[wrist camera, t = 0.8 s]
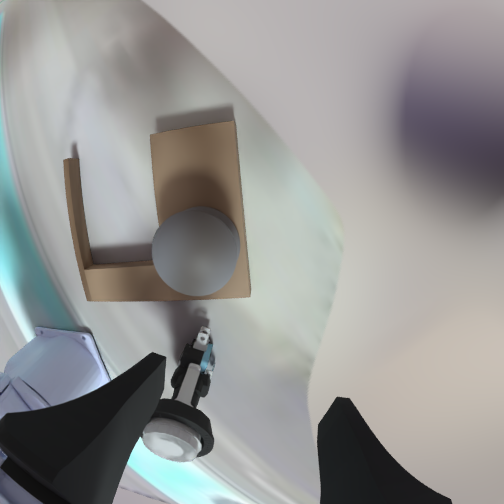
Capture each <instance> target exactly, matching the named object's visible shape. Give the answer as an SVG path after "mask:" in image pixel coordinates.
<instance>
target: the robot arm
mask: <svg viewBox="0 0 504 504" xmlns="http://www.w3.org/2000/svg"><path fill="white" fill-rule="evenodd" d="M35 333H36V335H37V336H36V337H35V338H34V339H32V340H31V341H30V342H29V343H28V344H26V345H25V346H24V347H23V348H22V349H21V350H19V351H18V352H17V353H16V354H15V355H14V356H12V357H11V358H10V359H9V361H8V362H7V364H6V366H5V370H4V373H2V372H0V504H112V503H113V499H114V496H115V494H116V490H117V488H118V485H119V482H120V479H121V477H122V474H123V472H124V469H125V466H126V464H127V462H128V459H129V457H130V454H131V452H132V450H133V448H134V446H135V444H136V442H137V441H138V439H139V437H140V436H141V434H142V432H143V430H144V429H145V427H146V425H147V423H148V422H149V420H150V418H151V416H152V415H153V413H154V411H155V409H156V407H157V405H158V403H159V400H160V398H161V395H162V393H163V390H164V382H165V367H166V357H165V356H162V355H159V354H156V353H154V352H152V353H150V354H148V355H147V356H146V357H145V358H143V359H142V360H141V361H139V362H138V363H137V364H135V365H134V366H133V367H131V368H130V369H128V370H127V371H125V372H124V373H122V374H121V375H119V376H118V377H116V378H115V379H113V380H112V381H110V379H109V376H108V374H107V372H106V370H105V367H104V365H103V363H102V360H101V358H100V355H99V353H98V350H97V348H96V345H95V343H94V340H93V337H92V335H91V334H89V333H84V332H75V331H66V330H58V329H50V328H43V327H36V328H35ZM84 337H85V338H84ZM317 448H318V459H319V470H320V482H321V497H320V504H452V501H451V499H450V498H447V497H445V496H443V495H441V494H439V493H437V492H435V491H434V490H432V489H430V488H428V487H427V486H425V485H424V484H423V483H421V482H420V481H418V480H417V479H416V478H415V477H413V476H412V475H411V474H410V473H408V472H407V471H406V470H405V469H404V468H403V467H402V466H401V465H400V464H399V463H398V462H397V461H396V460H395V459H394V458H393V457H392V456H391V455H390V454H389V453H388V452H387V451H386V449H385V448H384V447H383V445H382V444H381V443H380V441H379V440H378V439H377V438H376V436H375V435H374V433H373V432H372V431H371V429H370V428H369V426H368V425H367V423H366V422H365V421H364V419H363V418H362V416H361V415H360V413H359V411H358V410H357V408H356V407H355V406H354V404H353V403H352V401H351V400H350V398H342V397H336V399H335V400H334V402H333V403H332V405H331V407H330V408H329V410H328V411H327V413H326V414H325V415H324V417H323V419H322V420H321V421H320V423H319V424H318V436H317Z"/></svg>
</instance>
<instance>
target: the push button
mask: <svg viewBox="0 0 504 504" xmlns="http://www.w3.org/2000/svg"><path fill="white" fill-rule="evenodd" d="M210 330H211V329H210V328H207V327H204V326H202V327H201V330H200V332H199V334H198V336H197V337H196V339H194V340H193V342H192V345H190V344H186V347H185V349H184V351H183V353H182V355H181V357H180V360H179V363H178V367H177V368H176V370H175V372H174V374H173V376H172V379H171V386H172V387H173V388H174V393H173V396H172V399H165V398H164V399H160V400H159V403H158V405H157V407H156V409H155V411H154V413H153V415H152V416H151V418H150V420H149V422H148V423H147V425H146V427H145V429H144V430H143V432H142V434H141V436H140V437H141V438H142V440H143V443H144V445H145V446H146V447H147V448H148V449H149V450H150V451H151V452H153V453H154V454H156V455H158V456H160V457H162V458H165V459H167V460H171V461H176V462H188V461H192V460H194V459H195V458H196V457H201V456H204V455H206V454H208V453H210V452H211V450H212V449H213V445H214V437H213V435H212V429H211V423H210V419H209V418H208V417H207V416H206V415H205V414H204V413H203V412H202V411H200V410H198V409H196V407H197V405H198V402H199V398H200V397H205V396H206V395H207V394H208V391H209V387H210V383H211V377H212V374H213V370H214V367H215V363H214V366H213V369H212V371H210V370H206V368H207V365H208V362H209V358H210V353H211V350H212V346H213V344H209V340H208V337H209V334H210ZM203 331H206V332H207V334H205V333H202V332H203ZM205 370H206V373H205ZM204 373H205V374H204Z"/></svg>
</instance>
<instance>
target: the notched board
mask: <svg viewBox="0 0 504 504" xmlns="http://www.w3.org/2000/svg"><path fill="white" fill-rule="evenodd" d="M150 144H151V158H152V170H153V180H154V190H155V199H156V207H157V215H158V222H159V228H158V230H157V231H156V233H155V236H154V239H153V243H152V259H153V260H148V261H135V262H121V263H108V264H94V265H93V260H92V255H91V250H90V245H89V240H88V234H87V228H86V222H85V215H84V208H83V200H82V191H81V181H80V168H79V159H74V158H68V159H65V160H63V162H64V178H65V189H66V199H67V207H68V214H69V221H70V227H71V233H72V239H73V244H74V249H75V254H76V259H77V263H78V268H79V272H80V276H81V280H82V284H83V288H84V291H85V295H86V298H87V301H180V300H207V299H228V298H245V297H250V294H251V284H250V273H249V263H248V252H247V241H246V231H245V220H244V209H243V198H242V187H241V176H240V165H239V154H238V143H237V131H236V124H235V122H234V121H228V122H220V123H212V124H205V125H199V126H193V127H187V128H181V129H176V130H171V131H165V132H161V133H156V134H151V135H150Z"/></svg>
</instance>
